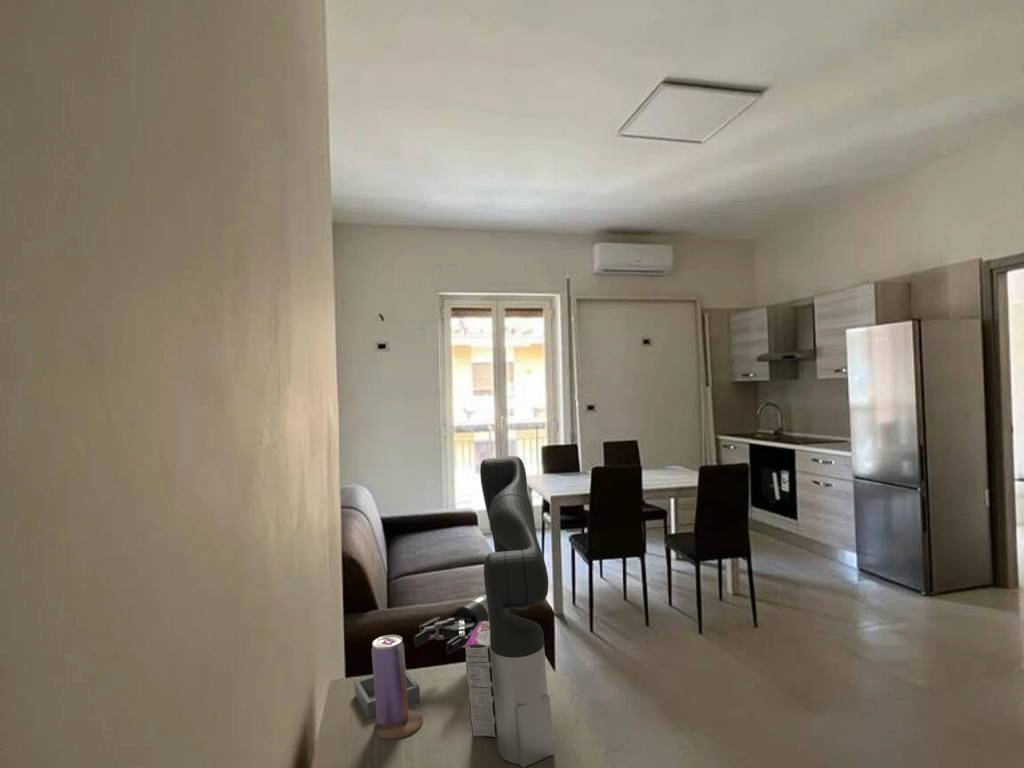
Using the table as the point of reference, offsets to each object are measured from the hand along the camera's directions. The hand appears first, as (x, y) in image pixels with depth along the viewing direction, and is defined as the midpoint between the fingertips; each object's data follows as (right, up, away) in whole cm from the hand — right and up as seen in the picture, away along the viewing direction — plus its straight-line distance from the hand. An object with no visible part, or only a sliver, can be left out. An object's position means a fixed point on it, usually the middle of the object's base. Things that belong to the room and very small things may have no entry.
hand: (431, 645), depth 115 cm
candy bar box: (+13, -9, -10) cm, 19 cm away
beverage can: (-6, -10, -9) cm, 15 cm away
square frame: (-9, -11, +1) cm, 14 cm away
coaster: (-5, -11, -9) cm, 15 cm away
